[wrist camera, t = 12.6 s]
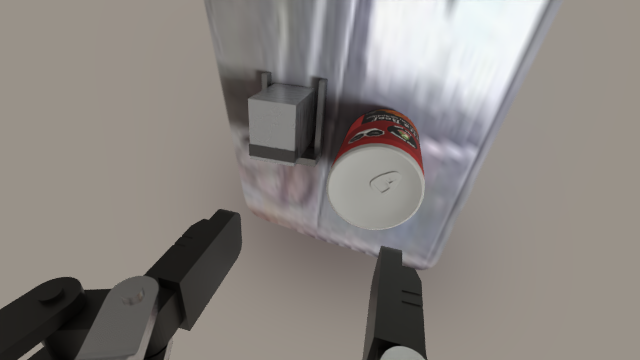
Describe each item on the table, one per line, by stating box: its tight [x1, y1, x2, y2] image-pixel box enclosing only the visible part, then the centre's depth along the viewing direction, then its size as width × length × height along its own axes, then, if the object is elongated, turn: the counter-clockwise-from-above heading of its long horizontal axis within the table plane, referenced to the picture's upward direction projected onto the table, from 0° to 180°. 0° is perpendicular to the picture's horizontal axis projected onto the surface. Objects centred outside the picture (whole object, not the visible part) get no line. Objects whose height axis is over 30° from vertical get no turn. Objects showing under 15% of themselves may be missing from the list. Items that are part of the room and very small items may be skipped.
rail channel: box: [262, 72, 327, 167], centre depth 33 cm, size 9×7×3 cm
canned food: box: [326, 109, 425, 230], centre depth 29 cm, size 8×8×11 cm
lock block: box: [248, 83, 315, 166], centre depth 32 cm, size 6×5×7 cm
